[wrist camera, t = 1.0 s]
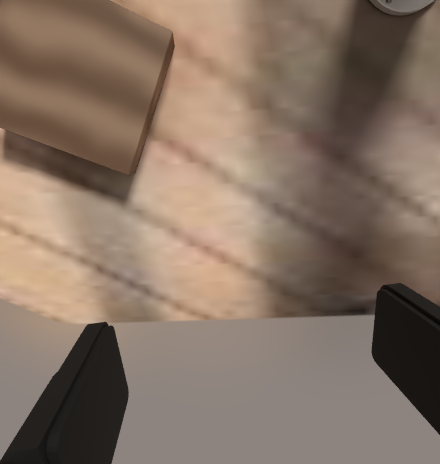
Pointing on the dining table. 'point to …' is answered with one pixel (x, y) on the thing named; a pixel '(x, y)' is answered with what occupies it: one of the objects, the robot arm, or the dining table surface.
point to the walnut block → (82, 77)
